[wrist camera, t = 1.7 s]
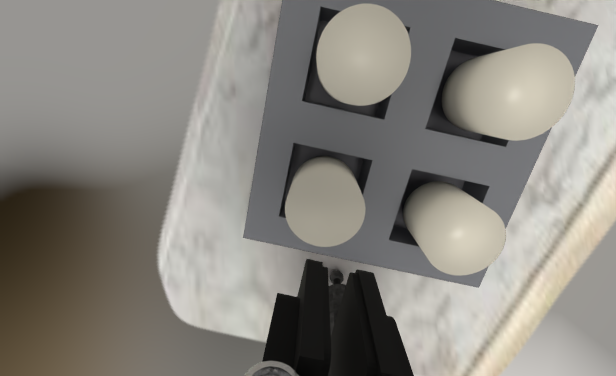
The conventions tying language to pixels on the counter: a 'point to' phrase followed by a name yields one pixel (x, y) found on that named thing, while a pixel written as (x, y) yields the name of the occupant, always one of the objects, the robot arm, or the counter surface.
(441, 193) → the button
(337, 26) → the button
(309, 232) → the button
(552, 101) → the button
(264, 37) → the counter surface
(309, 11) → the board
